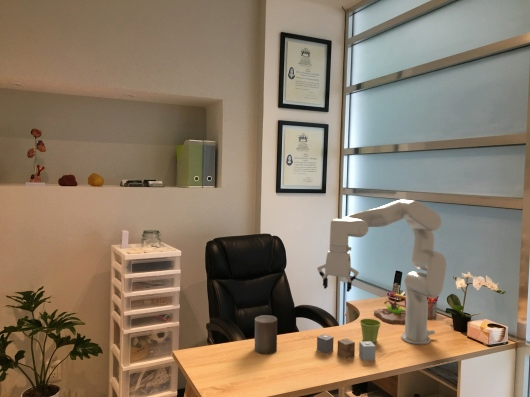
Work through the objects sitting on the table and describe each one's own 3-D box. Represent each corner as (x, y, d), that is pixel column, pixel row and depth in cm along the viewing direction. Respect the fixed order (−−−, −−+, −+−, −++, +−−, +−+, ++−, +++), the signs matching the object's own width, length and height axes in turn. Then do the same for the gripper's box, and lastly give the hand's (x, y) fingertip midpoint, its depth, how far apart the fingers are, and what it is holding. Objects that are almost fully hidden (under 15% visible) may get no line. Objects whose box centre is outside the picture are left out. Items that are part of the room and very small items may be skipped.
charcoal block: (323, 347, 182) (324, 333, 182) (333, 350, 178) (333, 336, 178) (316, 350, 178) (317, 336, 178) (326, 354, 175) (326, 339, 174)
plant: (422, 323, 215) (423, 302, 214) (387, 325, 211) (388, 304, 210) (401, 311, 234) (402, 291, 234) (369, 313, 230) (370, 293, 230)
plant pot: (381, 345, 185) (381, 326, 184) (359, 343, 187) (359, 324, 186) (379, 337, 194) (380, 319, 193) (358, 335, 196) (359, 317, 195)
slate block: (370, 355, 175) (371, 340, 174) (375, 360, 170) (375, 345, 169) (359, 355, 174) (359, 341, 174) (363, 360, 169) (363, 345, 169)
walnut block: (346, 352, 177) (346, 338, 177) (354, 356, 173) (354, 342, 173) (337, 354, 175) (337, 340, 175) (345, 359, 171) (345, 344, 170)
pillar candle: (281, 351, 176) (281, 317, 176) (261, 356, 171) (262, 320, 171) (269, 344, 185) (269, 310, 184) (250, 348, 180) (250, 314, 179)
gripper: (361, 249, 173) (359, 290, 173) (321, 245, 180) (319, 284, 180) (357, 252, 166) (355, 294, 167) (316, 248, 173) (314, 288, 173)
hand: (336, 289), depth 173 cm, fingers open, 9 cm apart
